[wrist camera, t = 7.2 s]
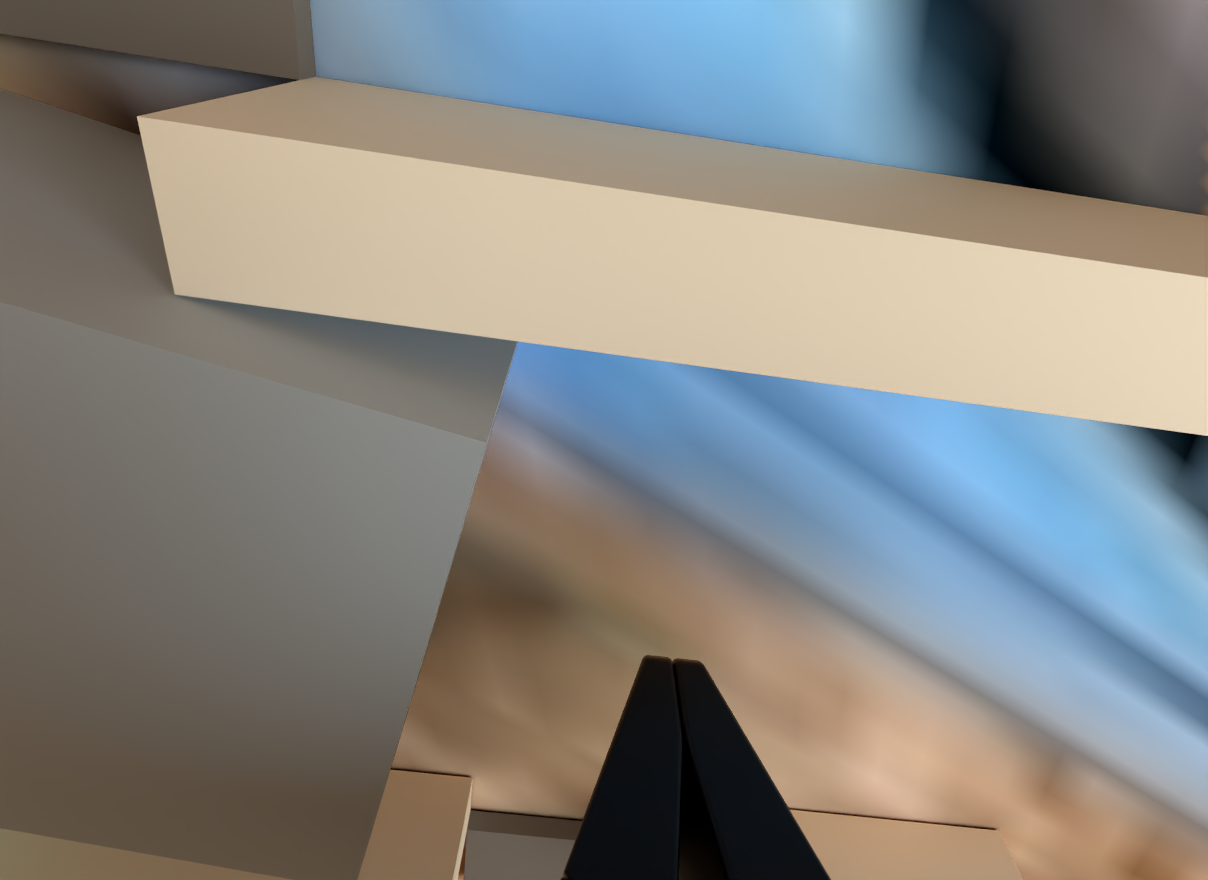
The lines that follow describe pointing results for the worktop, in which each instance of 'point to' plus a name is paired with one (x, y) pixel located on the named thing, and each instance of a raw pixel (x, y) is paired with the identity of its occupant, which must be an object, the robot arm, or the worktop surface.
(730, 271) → the trap lane
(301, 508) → the slate block
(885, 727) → the worktop surface
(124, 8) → the block
